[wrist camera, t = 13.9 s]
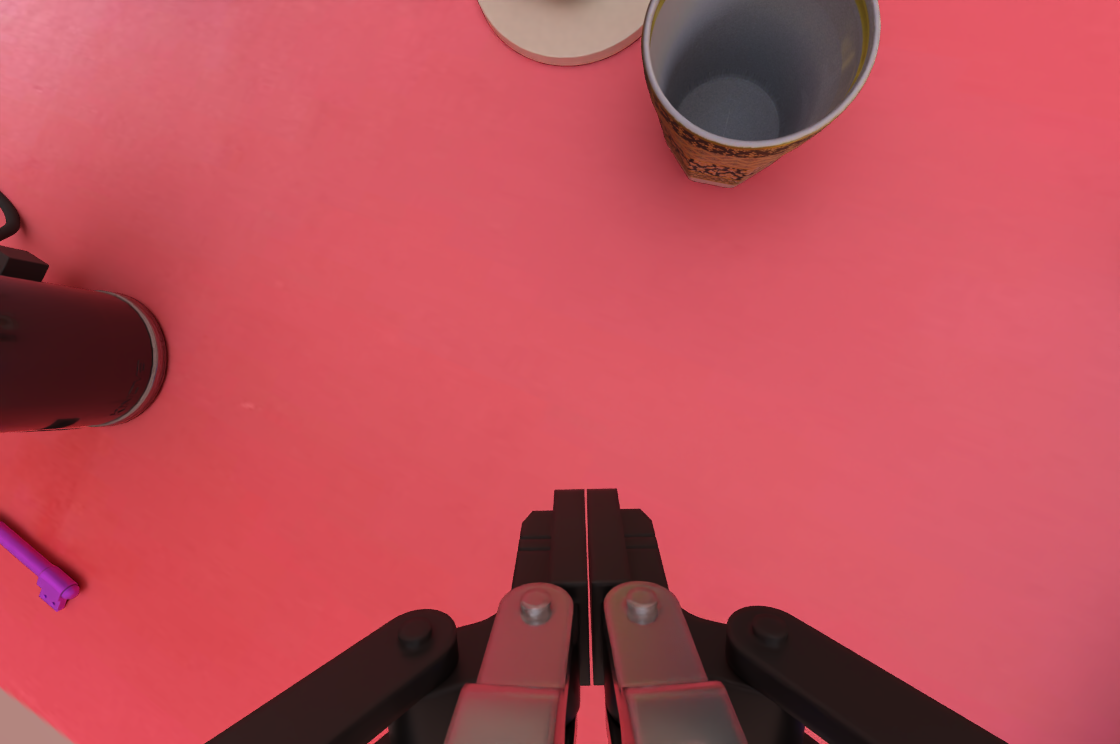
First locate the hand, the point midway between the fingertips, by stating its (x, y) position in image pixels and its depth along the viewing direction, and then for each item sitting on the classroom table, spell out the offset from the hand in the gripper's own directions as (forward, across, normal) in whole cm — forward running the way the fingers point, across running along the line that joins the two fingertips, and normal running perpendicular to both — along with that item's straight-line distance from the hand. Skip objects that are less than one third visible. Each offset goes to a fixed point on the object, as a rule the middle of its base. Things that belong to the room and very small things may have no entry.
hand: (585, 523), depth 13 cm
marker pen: (+23, +42, +14) cm, 50 cm away
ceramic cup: (+26, -10, -12) cm, 30 cm away
